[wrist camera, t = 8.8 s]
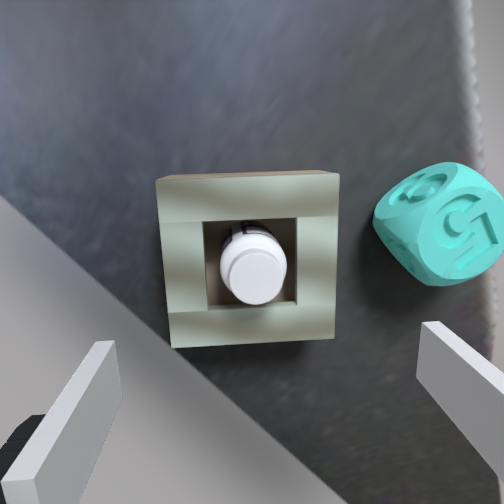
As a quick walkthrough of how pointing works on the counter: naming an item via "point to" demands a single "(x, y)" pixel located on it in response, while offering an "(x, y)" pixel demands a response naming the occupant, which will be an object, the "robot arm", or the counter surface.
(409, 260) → the engraved teal number block
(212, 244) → the grey hollow square block
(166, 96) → the counter surface
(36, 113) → the counter surface
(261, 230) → the pill bottle
